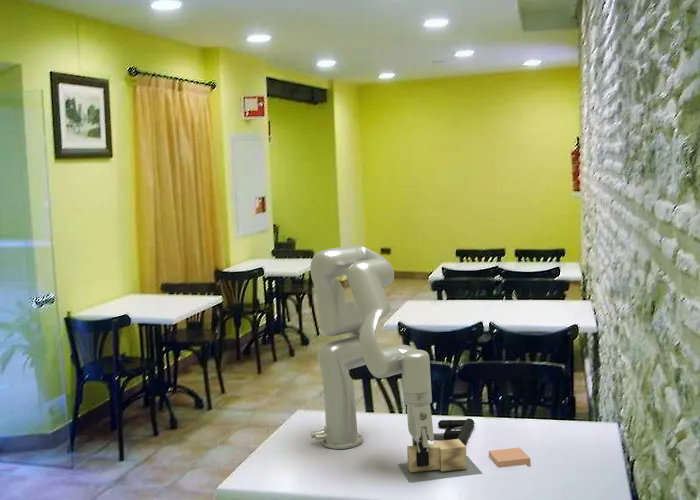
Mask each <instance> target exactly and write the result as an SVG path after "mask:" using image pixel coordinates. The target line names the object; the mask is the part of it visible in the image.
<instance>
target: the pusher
mask: <svg viewBox="0 0 700 500" xmlns="http://www.w3.org/2000/svg"><path fill="white" fill-rule="evenodd" d="M406 451H407V453H406V454H407V463H408V469H409V470H410V472H417V471H426V470H436V469H440V470H441V471H450V470H459V469H467V461H466V456H467V446H466V445H464V444H463V443H462V442H461V441H460V440H459V439H453V440H433V443H428V453H429V465H428V466H422V467H418V466H417V457H416V452H417V445H414V446H413V445H407V446H406Z"/></svg>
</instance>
